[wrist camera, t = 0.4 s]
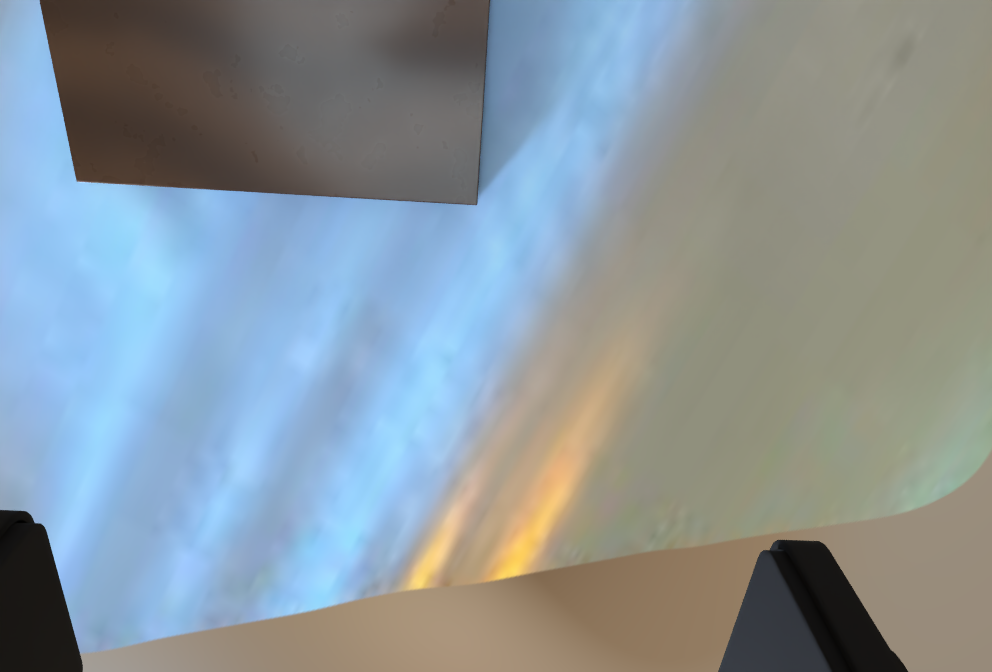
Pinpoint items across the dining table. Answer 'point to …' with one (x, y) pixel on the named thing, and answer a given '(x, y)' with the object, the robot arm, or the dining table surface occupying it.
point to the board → (275, 94)
